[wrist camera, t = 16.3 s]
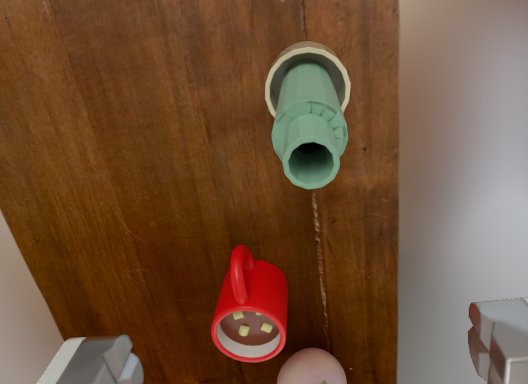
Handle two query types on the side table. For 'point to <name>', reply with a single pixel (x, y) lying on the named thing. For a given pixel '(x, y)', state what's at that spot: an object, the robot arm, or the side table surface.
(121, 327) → the side table surface
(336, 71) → the holder
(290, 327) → the side table surface
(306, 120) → the bottle
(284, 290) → the mug
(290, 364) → the decorative fruit
